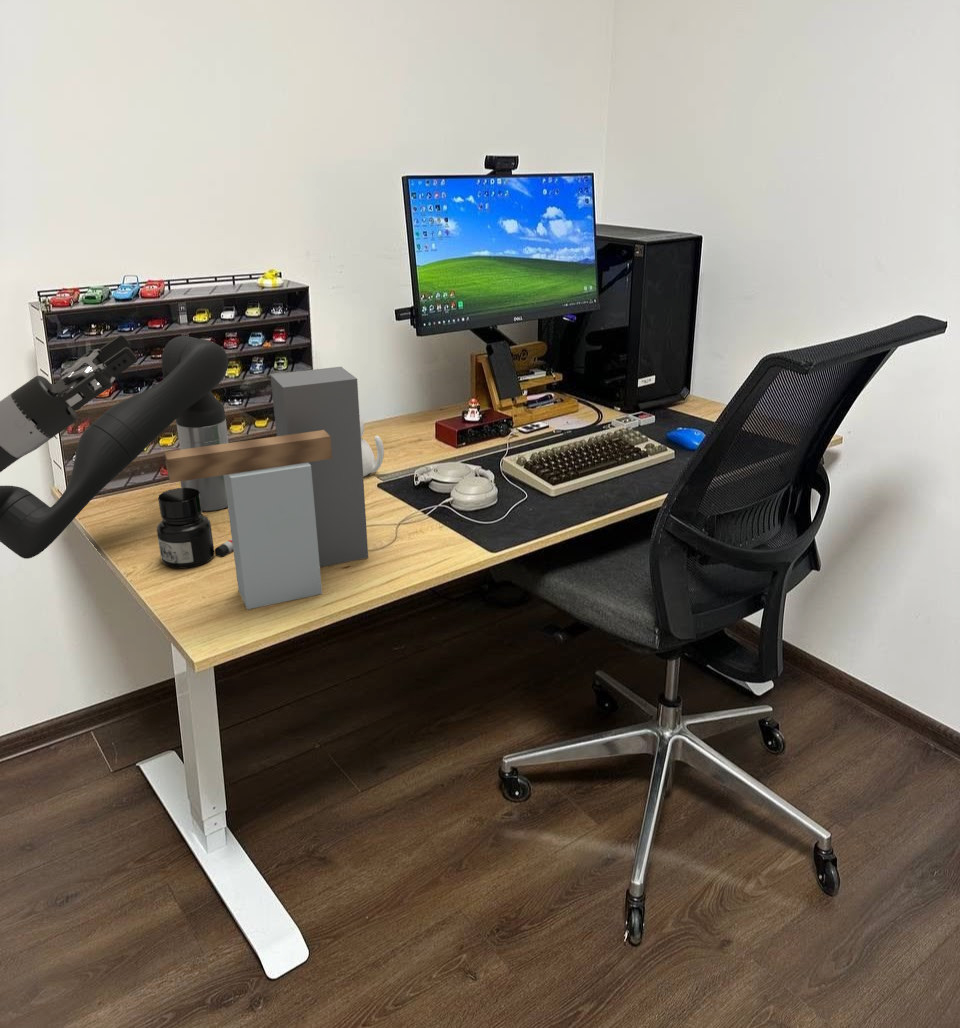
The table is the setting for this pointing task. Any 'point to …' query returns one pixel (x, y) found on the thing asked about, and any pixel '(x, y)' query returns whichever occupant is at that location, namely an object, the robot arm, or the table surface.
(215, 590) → the table surface
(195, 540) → the ink bottle
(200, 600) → the table surface
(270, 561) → the blue-grey step
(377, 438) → the cat figurine
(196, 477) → the walnut bar
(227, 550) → the marker
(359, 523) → the charcoal stand
